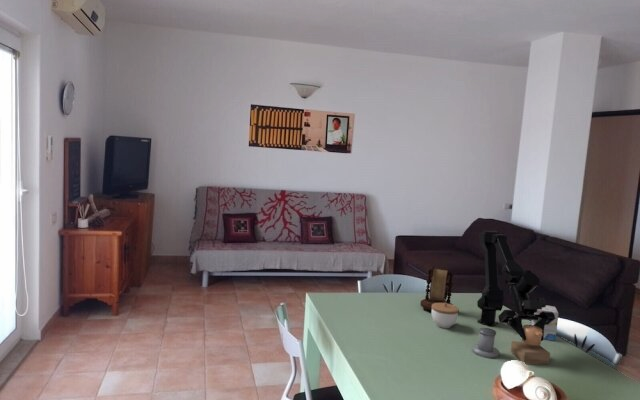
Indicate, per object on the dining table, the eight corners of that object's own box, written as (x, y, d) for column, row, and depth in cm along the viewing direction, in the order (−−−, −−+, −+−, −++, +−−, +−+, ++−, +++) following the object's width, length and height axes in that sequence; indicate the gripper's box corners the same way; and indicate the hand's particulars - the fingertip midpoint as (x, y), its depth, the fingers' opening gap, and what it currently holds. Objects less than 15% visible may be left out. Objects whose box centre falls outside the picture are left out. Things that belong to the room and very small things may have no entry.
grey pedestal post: (478, 344, 169) (481, 324, 168) (502, 353, 163) (505, 332, 162) (467, 351, 163) (469, 329, 162) (491, 360, 156) (494, 338, 155)
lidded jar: (458, 332, 180) (460, 309, 179) (430, 328, 182) (432, 305, 181) (455, 322, 191) (458, 300, 190) (429, 318, 193) (431, 297, 192)
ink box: (552, 333, 186) (555, 306, 185) (555, 341, 178) (559, 312, 177) (529, 329, 189) (532, 302, 187) (531, 337, 181) (535, 308, 179)
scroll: (417, 311, 201) (421, 266, 199) (423, 301, 215) (427, 260, 213) (451, 317, 196) (456, 272, 194) (455, 308, 209) (459, 265, 207)
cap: (518, 337, 163) (520, 324, 162) (534, 338, 163) (536, 325, 163) (530, 347, 155) (532, 333, 154) (547, 347, 155) (549, 333, 155)
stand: (510, 351, 165) (511, 341, 164) (534, 352, 165) (535, 342, 165) (523, 363, 156) (525, 352, 155) (548, 364, 157) (550, 353, 156)
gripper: (506, 287, 161) (518, 330, 151) (556, 290, 163) (571, 332, 153) (493, 301, 170) (504, 342, 160) (540, 303, 171) (554, 344, 162)
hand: (533, 340), depth 159 cm, fingers closed on cap, 6 cm apart
